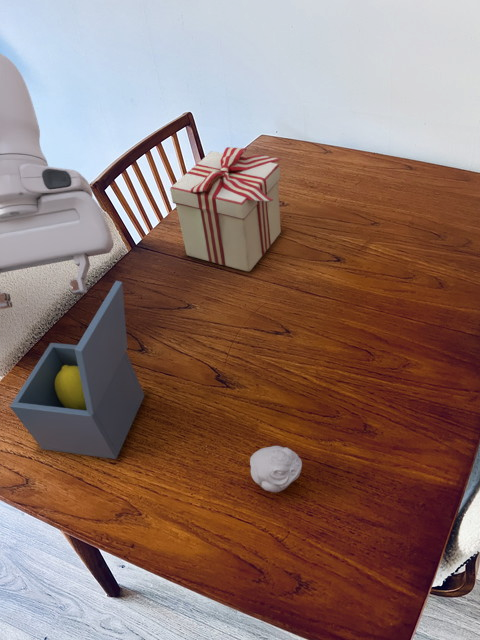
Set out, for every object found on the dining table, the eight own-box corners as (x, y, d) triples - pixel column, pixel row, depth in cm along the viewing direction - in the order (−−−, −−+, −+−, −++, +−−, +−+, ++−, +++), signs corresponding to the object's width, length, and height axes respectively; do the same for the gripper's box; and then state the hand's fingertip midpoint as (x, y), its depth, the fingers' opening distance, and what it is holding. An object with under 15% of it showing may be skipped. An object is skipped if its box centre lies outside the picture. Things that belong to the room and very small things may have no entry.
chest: (41, 449, 75) (9, 406, 67) (76, 387, 82) (50, 342, 75) (116, 459, 73) (91, 416, 65) (144, 395, 80) (125, 349, 73)
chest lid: (74, 349, 55) (81, 351, 55) (116, 280, 63) (122, 281, 63) (87, 413, 65) (93, 414, 65) (122, 346, 72) (127, 348, 72)
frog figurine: (292, 511, 66) (290, 484, 61) (244, 492, 68) (237, 465, 63) (310, 472, 70) (309, 443, 65) (263, 455, 72) (258, 427, 67)
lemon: (112, 400, 79) (87, 353, 77) (102, 413, 74) (74, 364, 71) (79, 413, 79) (53, 367, 77) (66, 427, 74) (38, 378, 72)
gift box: (269, 277, 97) (261, 193, 84) (182, 261, 102) (162, 179, 89) (299, 227, 107) (296, 145, 94) (219, 214, 112) (205, 135, 99)
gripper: (-86, 199, 61) (-56, 315, 62) (91, 169, 63) (117, 282, 64) (-58, 212, 67) (-31, 318, 68) (102, 185, 69) (126, 288, 70)
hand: (42, 300), depth 66 cm, fingers open, 8 cm apart
